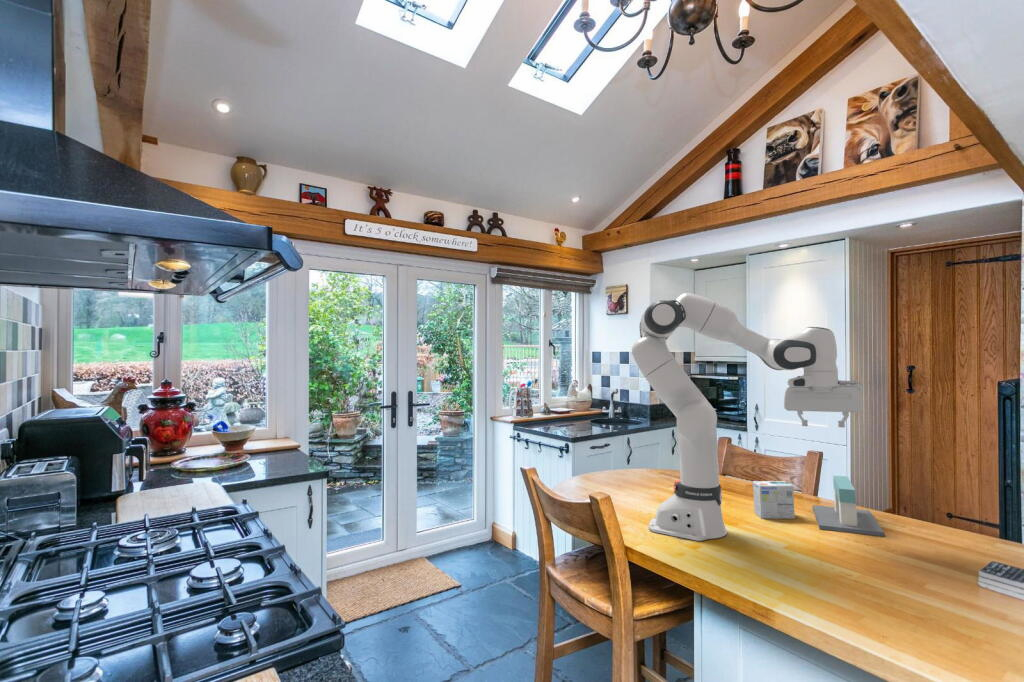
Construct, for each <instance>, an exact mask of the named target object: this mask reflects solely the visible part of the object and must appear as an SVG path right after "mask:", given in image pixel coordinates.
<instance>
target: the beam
mask: <svg viewBox="0 0 1024 682" xmlns="http://www.w3.org/2000/svg"><path fill="white" fill-rule="evenodd" d="M832 477H833V478H832V479H833V491H834V490H835V492H836V494H837V497H838V499H839V501H840V502H844V503H854V504H856V505H857V502H856V501H857V500H856V489H855V487H854V486H853V484H852V482H851V480H850V479H849V477H848V476H844V475H832Z"/></svg>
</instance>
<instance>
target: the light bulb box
mask: <svg viewBox="0 0 1024 682" xmlns="http://www.w3.org/2000/svg"><path fill="white" fill-rule="evenodd" d="M752 487H753V489H752V490H753V507H754V513H755V515H757V516H758V517H759V518H760V519H775V520H776V519H783V520H784V519H786V520H787V519H789V520H790V519H793V520H794V519H795V517H796V516H795V495H794V485H793V484H791V483H789V482H787V481H785V480H776V481H775V480H764V481H763V480H753V481H752Z"/></svg>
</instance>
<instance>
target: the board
mask: <svg viewBox="0 0 1024 682" xmlns="http://www.w3.org/2000/svg"><path fill="white" fill-rule="evenodd" d="M833 500H834V501H833V503H834V504H833V505H834V506H826V505H824V506H823V505H812V510H813V513H814V517H815V520H816V522H817V526H818V528H819V530H824V531H832V532H840V533H849V534H850V533H851V534H858V535H860V534H861V535H868V536H876V537H877V536H878V537H885V532H884V530H883V528H882V527H881V525H880V524H879V522H878V521H877V519H876V517H874V515H873V513H872V512H871V511H870V510H867V509H859V508H858V509H857V503H856V504H854V503H844V502H840V501H839V499H838V497H837V494H836V492H835V490H834V489H833Z"/></svg>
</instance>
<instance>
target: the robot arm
mask: <svg viewBox="0 0 1024 682" xmlns="http://www.w3.org/2000/svg"><path fill="white" fill-rule="evenodd" d="M682 327H683V328H687V329H690V330H692V331H694V332H696V333H699V334H700V335H701V336H702V335H703V336H705V337H708V338H711V339H714V340H719V341H723V342H728V343H731V344H733V345H736V346H738V347H741V349H745V350H746V351H748V352H750V353H751V354H754V355H756V356H757V357H759V359H760V360H761V361H762V362H763V363H764V365H766V366H767V367H768V368H770V369H773V370H775V371H795V370H798V369H801V368H802V369H803V375H799V376H796V377H791V378H789V379H788V380H787V385H788V387H786V390H785V391H784V400H783V407H784V409H785V410H786V411H787V412H796V414H797V416H798V417H799V419H800V420H801V426H802V427H809V426H808V425H809V424H808V419H805V418H804V417H803V415H804V412H824V413H825V412H826V413H829V412H830V413H831V412H832V413H841V414H842V415H843V418H842V419H841V420H837V421H838V422H837V424H838V425H837V426H838V428H845V427H846V422H847V420H848V418H849V416H850V415H849V414H850V413H861V412H863V410H864V404H863V399H862V395H863V394H864V386H863V384H862V383H861V382H859V381H856V380H839V370H838V366H837V359H838V349H837V341H836V336H835V333H834V331H832V330H831V329H829V328H827V327H826V328H825V327H820V326H819V327H818V326H808V327H804V329H803V330H801V331H800V332H797V333H795V334H793V335H791V336H789V337H785V338H783V339H782V338H781V339H780V338H777V339H776V338H768V337H766V336H764V335H762V334H760V333H758V332H755V331H754V330H751V329H749V328H747V327H746V326H744V325H743V323H741V322H740V320H739V319H738V317H737V314H736V313H735V312H734V311H732V310H731V309H730V308H728V307H726V306H725V305H724V304H722V303H720V302H717V301H715V300H712V299H710V298H708V297H705V296H702V295H699V294H696V293H692V292H684V293H681V294H680V295H678V297H676V299H673V300H672V299H671V300H657V301H655V302H653V303H651V304H649V305H648V306H647V308H646V310H644V312H643V313H642V316H641V319H640V322H639V336H640V337H639V339H637V340H636V341H635V342H634V344H633V346H632V347H631V355H632V357H633V359H634V361H635V363H636V366H637V367H638V369H639V370H640V373H641V374H642V375H643V377H644V378H645V379H646V381H647V382H648V384H649V385H650V387H651V388H652V389H653V391H654V392H655V394H656V395H657V396H658V398H659V399H660V401H661V402H663V404H664V405H665V406H666V407H667V408H668V409H669V410H670V412H671V413H672V414H673V415H674V416H675V418H676V432H677V433H676V434H677V435H676V436H677V444H678V453H679V469H680V470H679V472H680V475H679V477H680V480H679V479H676V480H675V482H674V483H673V484H674V485H673V493H674V494H672V495H671V496H670V497H668V498H666V499H665V500H664V501H662V502H661V503H660V504H659V506H658V508H657V510H656V514H655V517H653V518H651V519H650V520H649V523H648V529H649V531H651V532H652V533H657V534H661V535H667V536H672V537H677V538H682V539H687V540H693V541H697V542H702V541H705V540H711V539H719V538H722V537H725V536H726V535H727V533H728V532H727V527H726V525H725V522H724V518H723V512H722V511H723V510H722V502H723V501H722V496H723V495H722V488H721V484H720V475H719V474H720V471H719V470H720V468H719V454H718V452H719V451H718V438H717V423H718V415H717V411H716V409H715V408H714V407H713V406H712V404H711V402H709V401H708V399H707V398H706V397H705V395H704V394H703V393H702V391H700V389H699V388H698V387H697V385H696V384H695V383H694V382H693V380H691V378H690V377H689V376H688V374H687V373H686V371H685V369H683V366H681V365H680V362H678V361H677V359H676V358H675V356H674V355H673V354H672V353H671V351H670V349H669V348H668V346H667V340H668V339H669V337H670V336H672V335H673V334H674V333H675V331H676V329H677V328H682Z"/></svg>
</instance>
